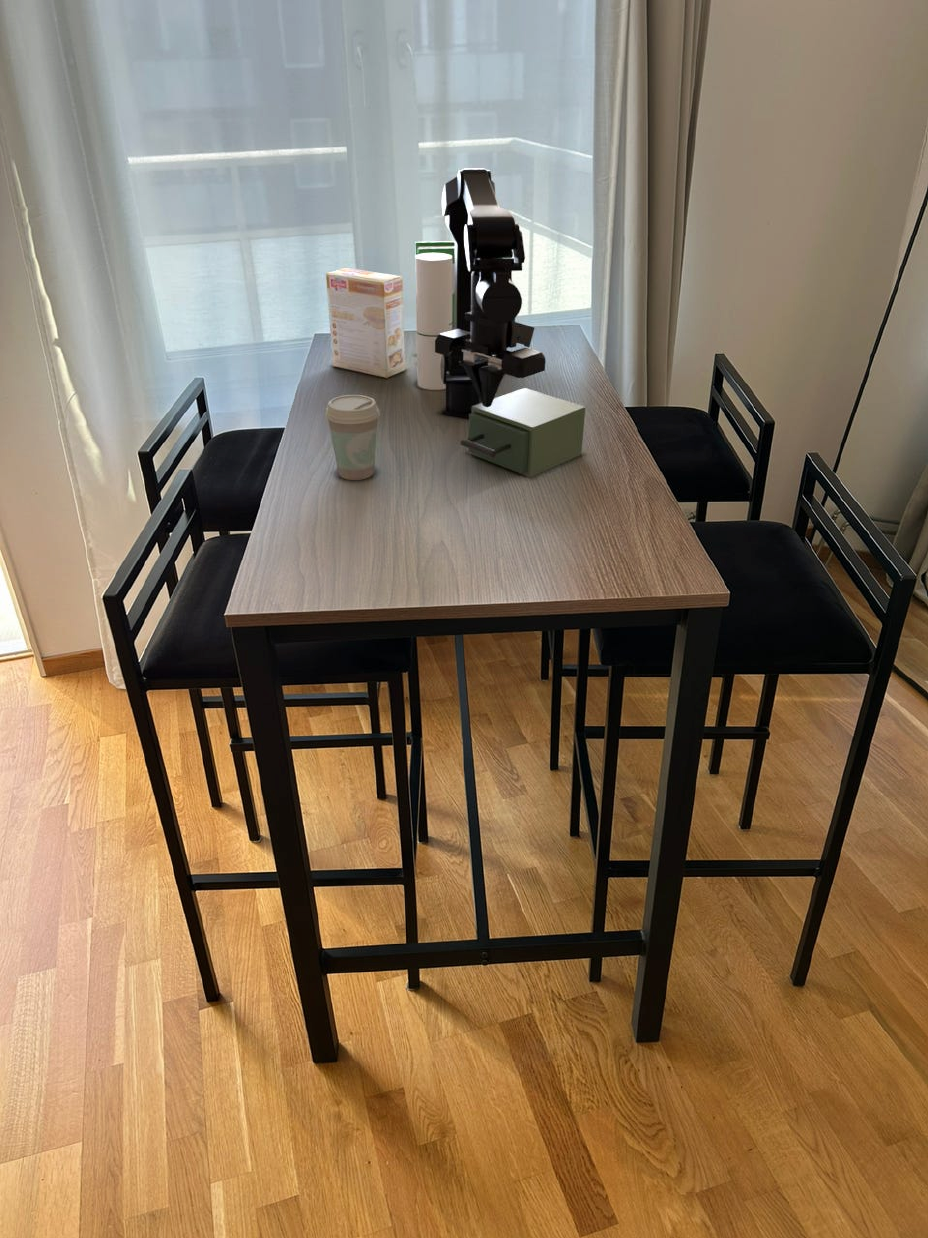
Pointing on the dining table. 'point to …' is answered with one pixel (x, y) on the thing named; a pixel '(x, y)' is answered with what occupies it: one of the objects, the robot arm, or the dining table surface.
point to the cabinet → (540, 426)
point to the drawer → (498, 442)
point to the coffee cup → (353, 434)
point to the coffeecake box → (366, 321)
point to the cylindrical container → (432, 314)
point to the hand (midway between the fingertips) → (487, 406)
